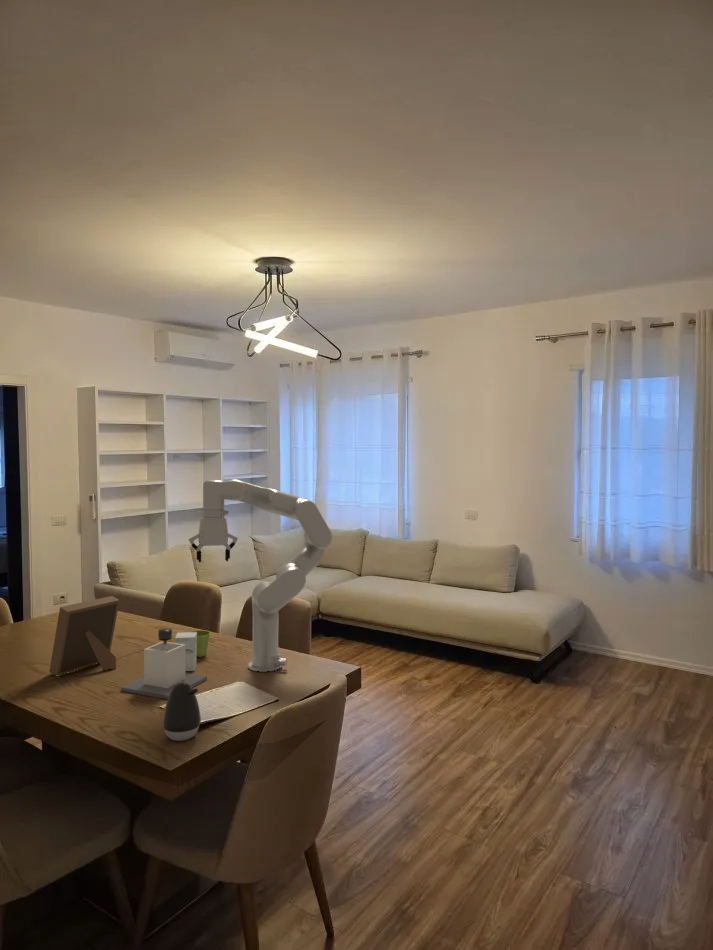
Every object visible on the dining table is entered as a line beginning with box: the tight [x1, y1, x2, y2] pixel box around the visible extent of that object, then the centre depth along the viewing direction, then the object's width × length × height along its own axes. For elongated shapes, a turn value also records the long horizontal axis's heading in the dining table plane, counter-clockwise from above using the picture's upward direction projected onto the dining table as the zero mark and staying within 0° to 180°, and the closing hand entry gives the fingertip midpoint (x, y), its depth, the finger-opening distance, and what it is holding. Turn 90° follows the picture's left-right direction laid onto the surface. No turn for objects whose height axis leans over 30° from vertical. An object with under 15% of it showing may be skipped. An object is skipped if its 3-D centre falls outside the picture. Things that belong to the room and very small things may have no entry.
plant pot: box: [190, 629, 212, 658], centre depth 248 cm, size 9×9×9 cm
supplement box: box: [174, 631, 197, 672], centre depth 232 cm, size 7×7×13 cm
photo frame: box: [49, 595, 120, 676], centre depth 229 cm, size 15×22×25 cm
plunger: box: [157, 628, 173, 651], centre depth 215 cm, size 7×7×17 cm
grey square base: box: [120, 641, 208, 700], centre depth 215 cm, size 20×20×13 cm
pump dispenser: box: [162, 682, 202, 742], centre depth 175 cm, size 10×10×15 cm
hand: (213, 561), depth 228 cm, fingers open, 9 cm apart
